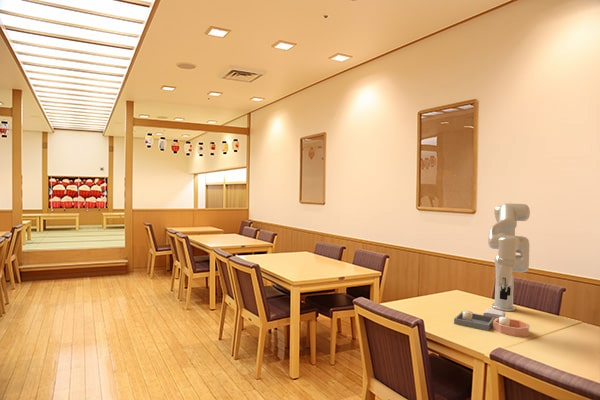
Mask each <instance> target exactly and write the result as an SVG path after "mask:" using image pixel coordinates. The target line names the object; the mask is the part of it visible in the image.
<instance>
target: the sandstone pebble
mask: <svg viewBox="0 0 600 400" xmlns="http://www.w3.org/2000/svg"><path fill="white" fill-rule="evenodd" d="M462 311H463V319H462V320H466V321H471V322H472V313H473V311H470V310H462Z"/></svg>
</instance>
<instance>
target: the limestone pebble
mask: <svg viewBox="0 0 600 400" xmlns="http://www.w3.org/2000/svg"><path fill="white" fill-rule="evenodd" d="M510 319H511V318H509V317H508V316H505V317H499V324H501V325H504V326H509V325H510Z"/></svg>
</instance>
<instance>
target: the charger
mask: <svg viewBox="0 0 600 400" xmlns="http://www.w3.org/2000/svg"><path fill="white" fill-rule="evenodd" d="M482 315H484V316H490V317H495V318H499V317H506V311H503V310H498V309H495V308H486V309H485V311H484V312H483V314H482Z"/></svg>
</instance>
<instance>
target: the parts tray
mask: <svg viewBox="0 0 600 400" xmlns="http://www.w3.org/2000/svg"><path fill="white" fill-rule="evenodd" d="M463 311H464V310H462V311H461V312H460V313H459V314H457V316H455V317H454V319H453V324H454V325H458V326H463V327H468V328H473V329H476V330H477V329H478V330H482V331H487V332H489V331H490V330H491V329H492V328H493V321H494V319H495V317H490V316H484V315H483V314H478V313H472V322H471V321H466V320H462V319H463Z"/></svg>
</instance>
